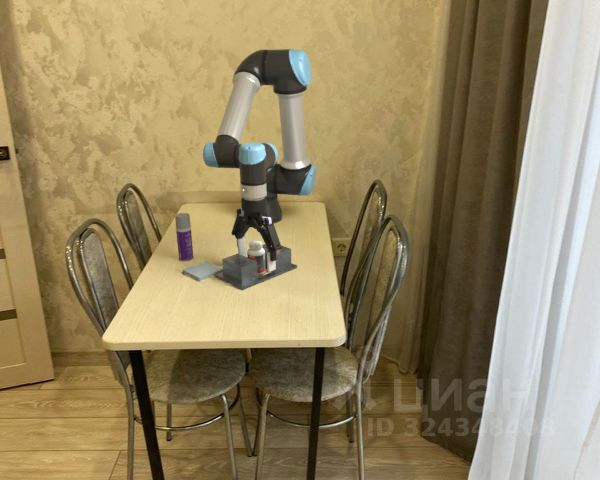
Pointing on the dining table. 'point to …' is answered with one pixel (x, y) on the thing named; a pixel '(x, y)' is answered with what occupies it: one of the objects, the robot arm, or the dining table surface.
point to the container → (184, 237)
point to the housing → (253, 268)
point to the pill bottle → (257, 255)
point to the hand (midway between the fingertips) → (256, 264)
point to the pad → (202, 270)
